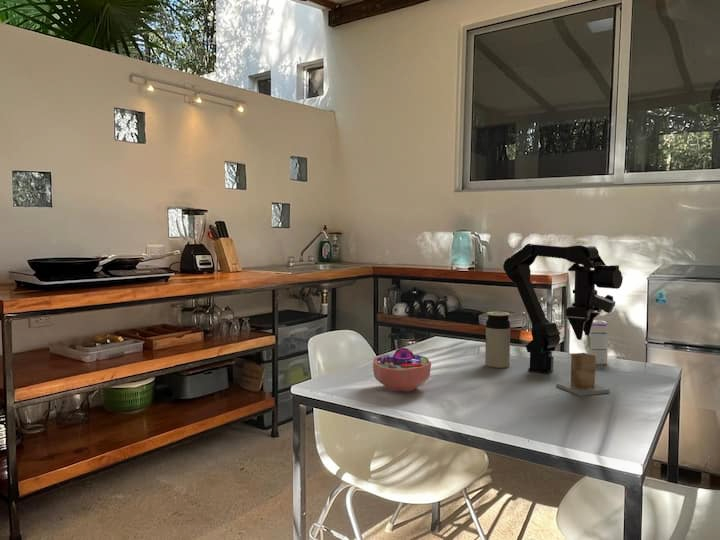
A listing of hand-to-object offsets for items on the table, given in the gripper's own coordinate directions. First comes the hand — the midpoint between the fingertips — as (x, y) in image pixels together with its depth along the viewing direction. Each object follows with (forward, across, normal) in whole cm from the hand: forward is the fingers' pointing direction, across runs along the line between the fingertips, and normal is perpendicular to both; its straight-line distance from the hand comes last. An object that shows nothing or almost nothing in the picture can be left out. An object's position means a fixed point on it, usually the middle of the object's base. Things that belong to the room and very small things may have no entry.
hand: (583, 337), depth 168 cm
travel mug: (+13, +2, +28) cm, 31 cm away
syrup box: (+13, +28, +2) cm, 31 cm away
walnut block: (+12, -12, -3) cm, 17 cm away
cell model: (+13, -42, +39) cm, 59 cm away
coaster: (+13, -12, -3) cm, 18 cm away
